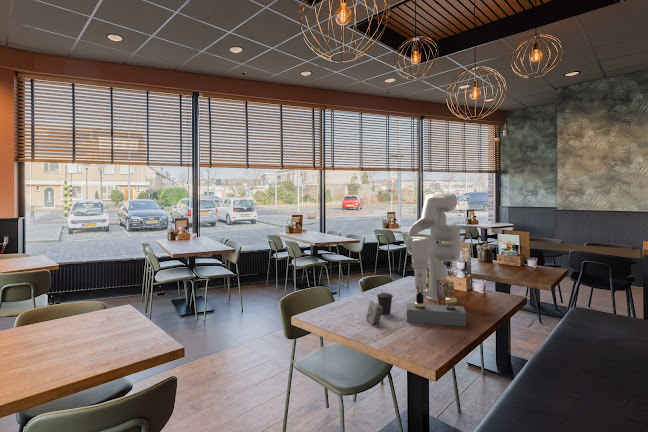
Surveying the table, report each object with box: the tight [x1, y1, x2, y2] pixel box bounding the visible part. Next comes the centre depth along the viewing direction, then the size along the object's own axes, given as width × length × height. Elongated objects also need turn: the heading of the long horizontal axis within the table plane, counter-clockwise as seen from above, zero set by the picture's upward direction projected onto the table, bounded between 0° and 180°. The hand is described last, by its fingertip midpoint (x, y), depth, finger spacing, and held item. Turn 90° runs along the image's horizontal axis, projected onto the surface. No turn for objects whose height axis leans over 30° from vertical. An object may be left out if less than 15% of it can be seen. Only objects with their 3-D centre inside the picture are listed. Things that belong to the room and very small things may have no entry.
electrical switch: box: [365, 300, 383, 326], centre depth 169 cm, size 9×5×9 cm, turn 10°
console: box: [406, 302, 467, 327], centre depth 169 cm, size 26×10×6 cm, turn 76°
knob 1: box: [414, 300, 426, 308], centre depth 171 cm, size 5×5×6 cm
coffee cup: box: [376, 292, 394, 316], centre depth 181 cm, size 8×8×10 cm
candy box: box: [436, 278, 455, 306], centre depth 186 cm, size 9×4×15 cm, turn 20°
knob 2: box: [445, 296, 458, 310], centre depth 167 cm, size 5×5×6 cm
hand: (419, 302), depth 170 cm, fingers closed
